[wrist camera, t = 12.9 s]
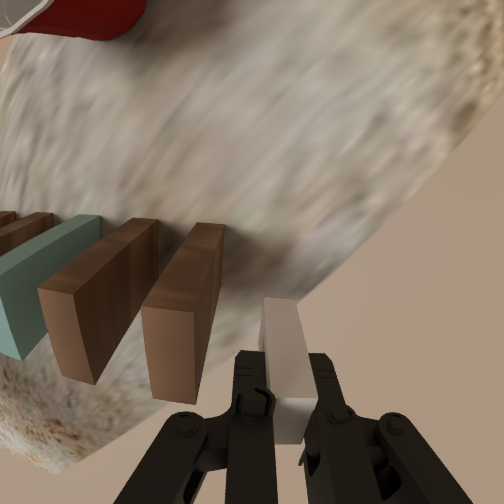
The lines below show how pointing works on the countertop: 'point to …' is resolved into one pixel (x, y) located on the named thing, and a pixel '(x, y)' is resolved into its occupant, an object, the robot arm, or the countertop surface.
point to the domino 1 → (6, 218)
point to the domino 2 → (24, 230)
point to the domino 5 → (183, 315)
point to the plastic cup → (70, 17)
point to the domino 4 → (99, 298)
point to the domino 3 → (37, 280)
